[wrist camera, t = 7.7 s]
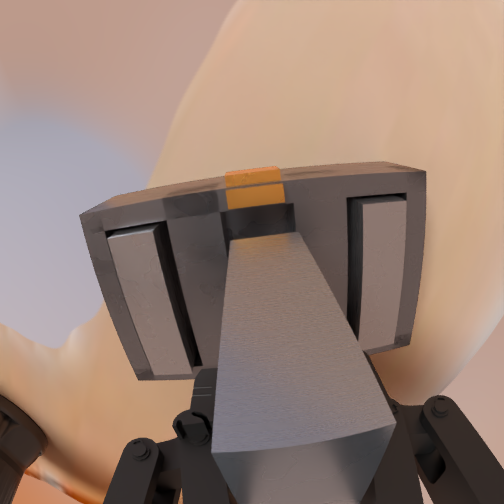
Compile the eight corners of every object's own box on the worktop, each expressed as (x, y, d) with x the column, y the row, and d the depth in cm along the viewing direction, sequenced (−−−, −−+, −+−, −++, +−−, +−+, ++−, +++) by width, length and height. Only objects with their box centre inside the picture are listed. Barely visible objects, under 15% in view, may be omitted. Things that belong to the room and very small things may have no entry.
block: (230, 240, 13) (211, 452, 4) (298, 231, 13) (396, 422, 4) (255, 385, 17) (264, 546, 7) (305, 378, 16) (340, 535, 7)
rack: (154, 335, 26) (135, 389, 20) (114, 188, 21) (68, 209, 15) (381, 306, 26) (414, 352, 19) (384, 154, 21) (435, 163, 14)
